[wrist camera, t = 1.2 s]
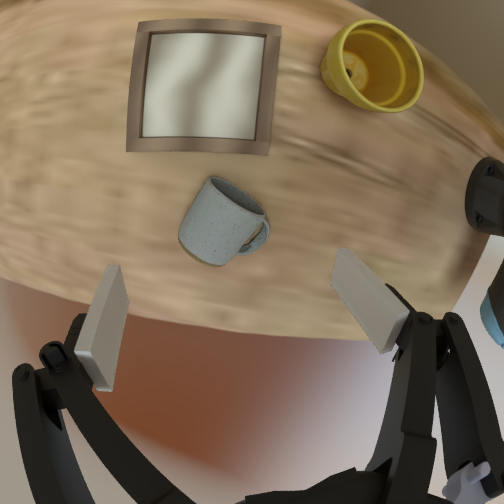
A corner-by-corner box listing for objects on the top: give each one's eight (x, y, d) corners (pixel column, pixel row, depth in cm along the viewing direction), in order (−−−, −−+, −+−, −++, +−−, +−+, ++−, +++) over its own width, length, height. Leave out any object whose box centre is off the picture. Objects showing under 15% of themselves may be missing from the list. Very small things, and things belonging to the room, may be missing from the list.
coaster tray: (277, 31, 24) (281, 25, 22) (264, 153, 31) (268, 155, 29) (143, 27, 22) (138, 21, 20) (131, 149, 29) (126, 152, 27)
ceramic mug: (176, 225, 34) (169, 253, 27) (209, 169, 31) (208, 185, 25) (246, 260, 38) (254, 294, 31) (280, 212, 35) (297, 237, 29)
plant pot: (360, 126, 31) (405, 133, 22) (291, 85, 28) (321, 73, 19) (388, 67, 27) (435, 61, 18) (324, 24, 24) (361, 0, 15)
